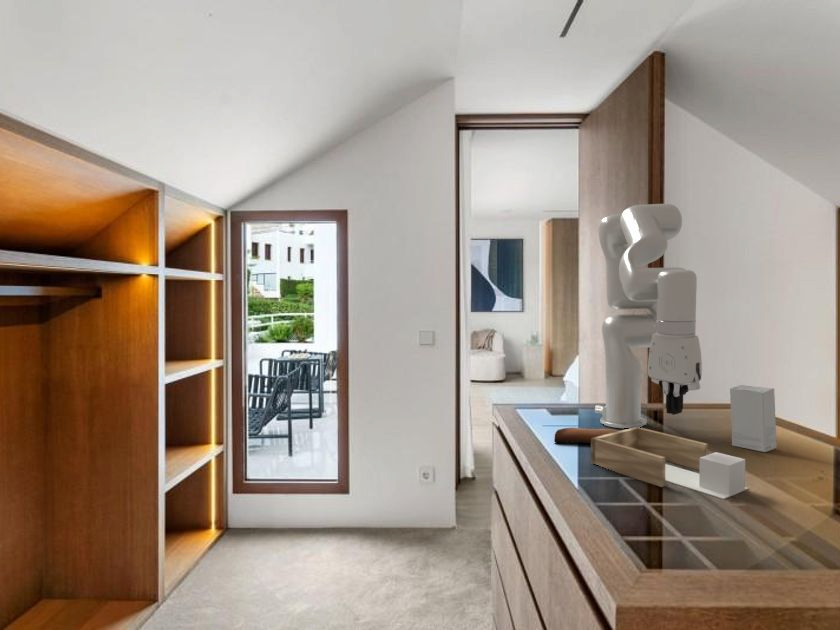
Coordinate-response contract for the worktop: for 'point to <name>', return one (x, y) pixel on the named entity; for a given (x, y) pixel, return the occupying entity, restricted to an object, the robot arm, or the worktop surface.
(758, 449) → the skincare box
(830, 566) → the worktop surface
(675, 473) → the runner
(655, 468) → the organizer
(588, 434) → the sunglasses case
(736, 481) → the white cube
